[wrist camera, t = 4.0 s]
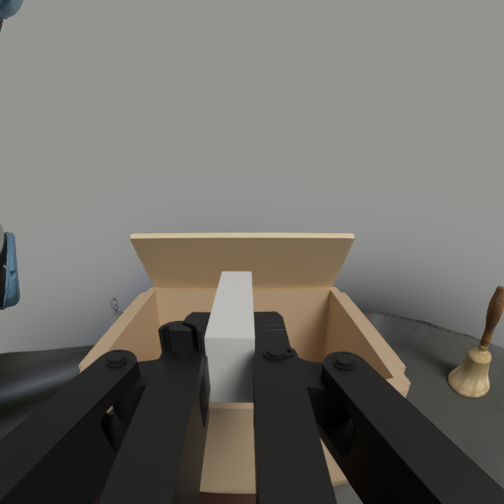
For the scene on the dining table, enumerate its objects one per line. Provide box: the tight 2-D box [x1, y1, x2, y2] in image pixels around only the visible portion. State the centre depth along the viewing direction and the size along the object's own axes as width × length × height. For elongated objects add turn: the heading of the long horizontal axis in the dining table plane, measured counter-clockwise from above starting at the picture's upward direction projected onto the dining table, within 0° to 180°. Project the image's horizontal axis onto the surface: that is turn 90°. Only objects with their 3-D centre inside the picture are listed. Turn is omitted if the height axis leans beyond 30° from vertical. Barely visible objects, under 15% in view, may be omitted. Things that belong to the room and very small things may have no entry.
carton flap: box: [130, 233, 355, 289], centre depth 31 cm, size 10×23×1 cm
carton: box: [79, 287, 411, 494], centre depth 27 cm, size 21×25×14 cm
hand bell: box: [448, 286, 504, 398], centre depth 28 cm, size 8×8×16 cm
